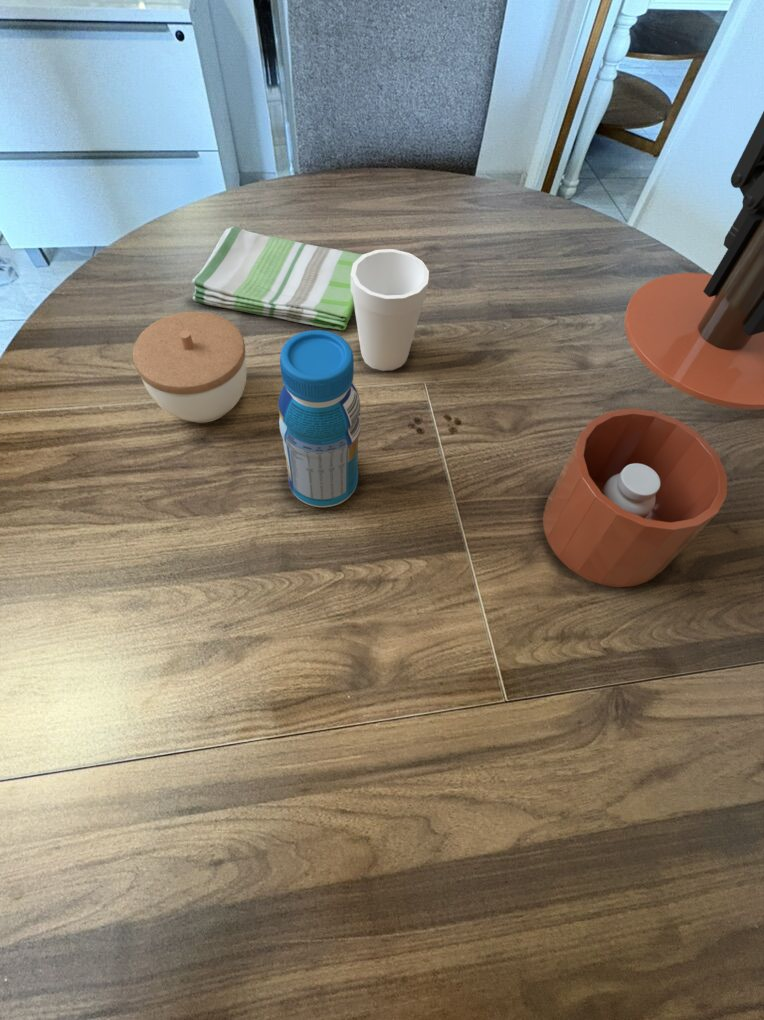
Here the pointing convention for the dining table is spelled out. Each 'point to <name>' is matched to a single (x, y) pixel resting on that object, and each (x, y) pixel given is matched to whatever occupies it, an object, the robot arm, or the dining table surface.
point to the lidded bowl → (192, 365)
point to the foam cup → (387, 304)
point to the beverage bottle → (319, 417)
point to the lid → (704, 331)
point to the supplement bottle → (633, 489)
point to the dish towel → (278, 279)
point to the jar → (616, 532)
